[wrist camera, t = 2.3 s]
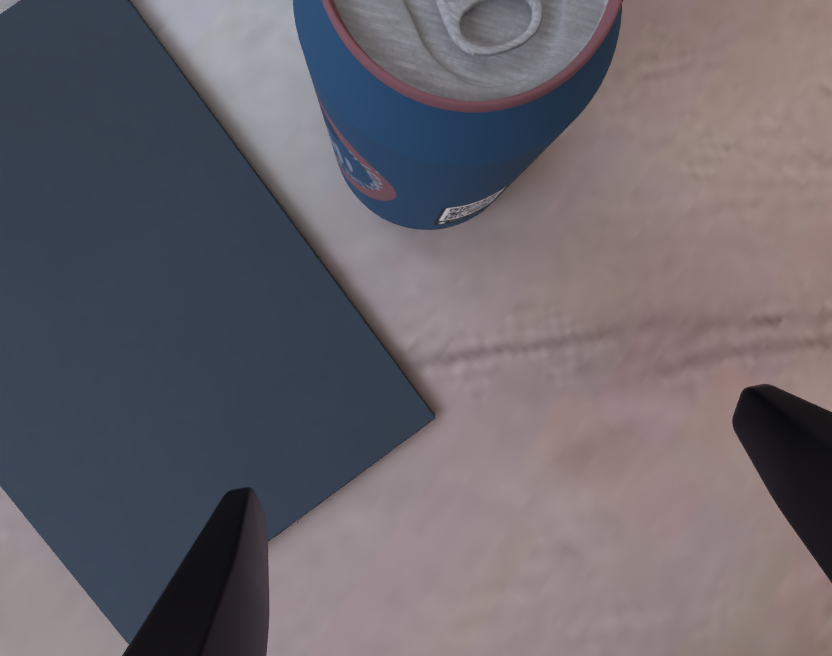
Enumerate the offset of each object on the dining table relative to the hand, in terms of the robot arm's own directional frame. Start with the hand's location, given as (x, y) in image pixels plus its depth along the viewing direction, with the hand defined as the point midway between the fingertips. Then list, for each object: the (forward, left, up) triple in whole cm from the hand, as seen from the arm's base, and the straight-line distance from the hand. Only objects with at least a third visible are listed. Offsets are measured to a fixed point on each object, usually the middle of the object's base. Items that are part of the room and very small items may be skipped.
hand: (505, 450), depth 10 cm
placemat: (+10, +9, -12) cm, 18 cm away
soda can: (+8, -5, -12) cm, 15 cm away
